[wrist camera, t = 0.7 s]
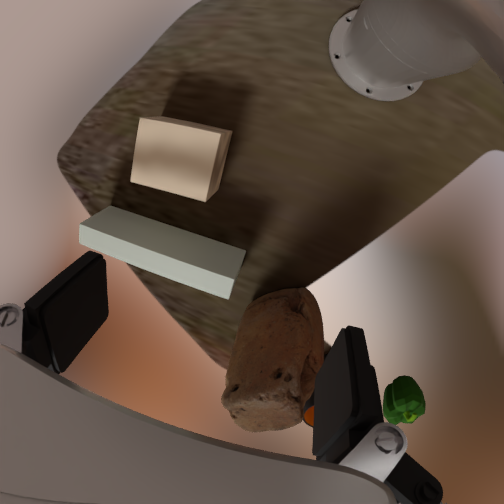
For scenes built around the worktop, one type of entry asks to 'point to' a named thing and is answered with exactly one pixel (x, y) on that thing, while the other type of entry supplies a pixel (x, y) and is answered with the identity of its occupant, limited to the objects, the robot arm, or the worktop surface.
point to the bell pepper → (403, 401)
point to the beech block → (180, 156)
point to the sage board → (164, 250)
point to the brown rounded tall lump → (274, 361)
